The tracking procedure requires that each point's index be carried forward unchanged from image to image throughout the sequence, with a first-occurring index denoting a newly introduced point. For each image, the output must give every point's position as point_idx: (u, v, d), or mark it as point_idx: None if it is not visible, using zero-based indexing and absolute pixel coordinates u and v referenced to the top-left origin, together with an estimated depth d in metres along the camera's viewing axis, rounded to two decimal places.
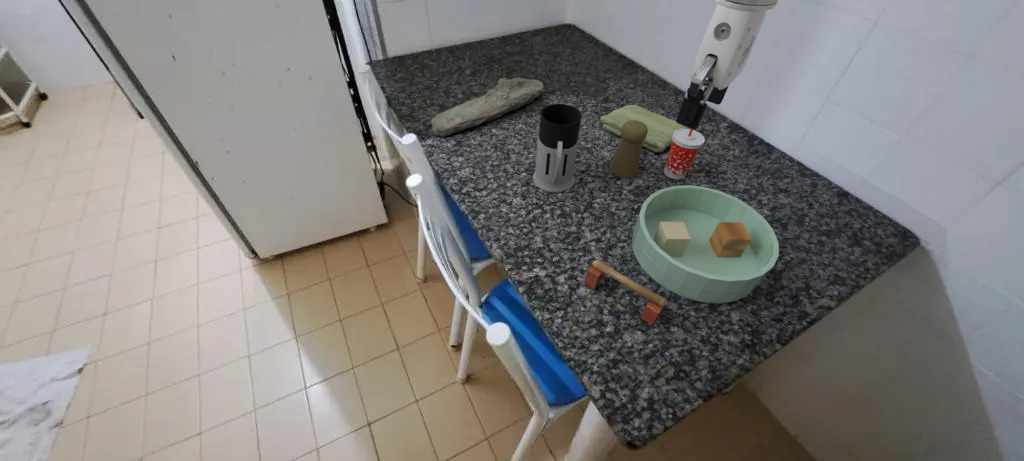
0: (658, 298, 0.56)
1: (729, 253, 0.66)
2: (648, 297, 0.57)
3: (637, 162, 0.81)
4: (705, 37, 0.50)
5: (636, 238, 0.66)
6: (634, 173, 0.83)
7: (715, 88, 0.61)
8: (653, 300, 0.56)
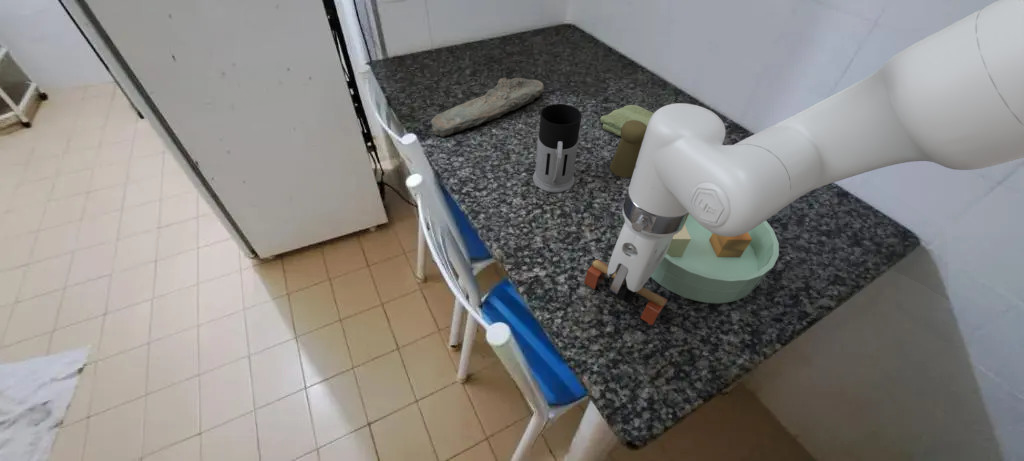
0: (658, 298, 0.56)
1: (729, 253, 0.66)
2: (648, 297, 0.57)
3: None
4: (615, 248, 0.49)
5: None
6: None
7: None
8: (653, 300, 0.56)
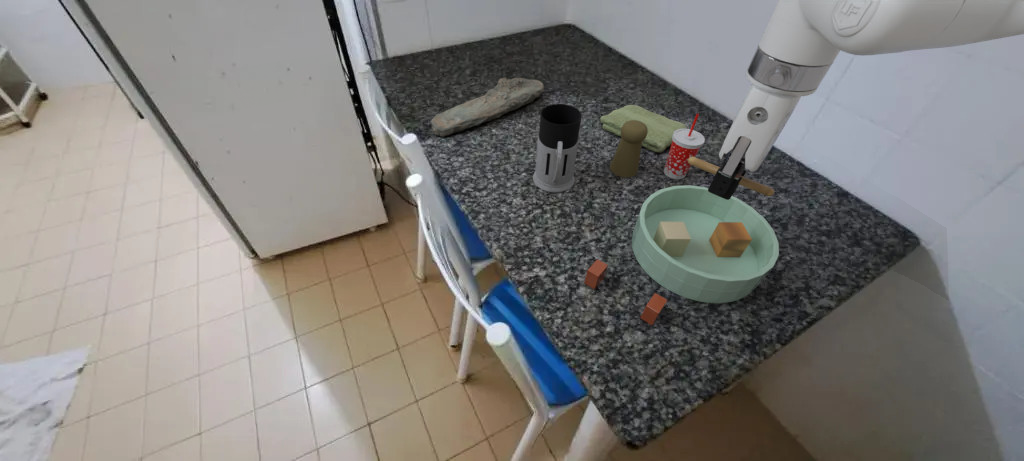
0: (767, 187, 0.53)
1: (729, 253, 0.66)
2: (755, 188, 0.53)
3: (637, 162, 0.81)
4: (737, 119, 0.46)
5: (636, 238, 0.66)
6: (634, 173, 0.83)
7: None
8: (761, 190, 0.53)
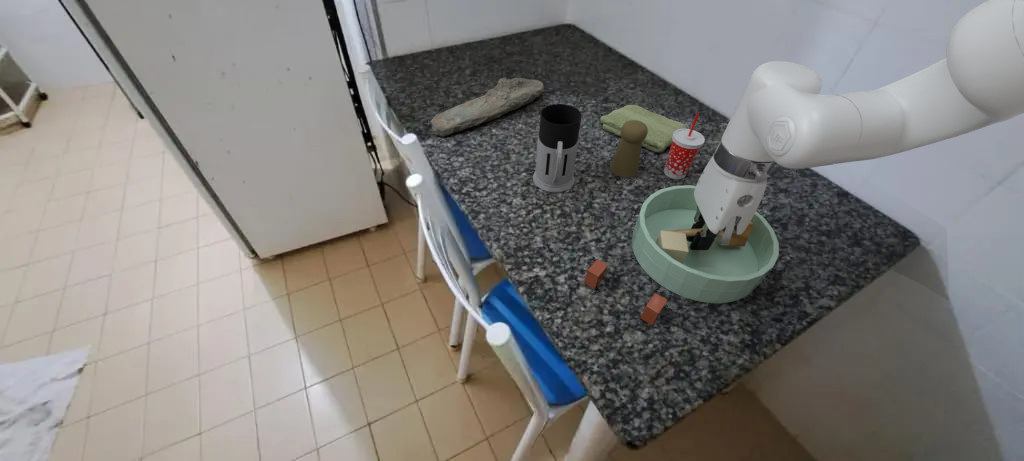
0: None
1: (733, 241, 0.66)
2: None
3: (637, 162, 0.81)
4: (728, 206, 0.55)
5: (636, 238, 0.66)
6: (634, 173, 0.83)
7: None
8: None
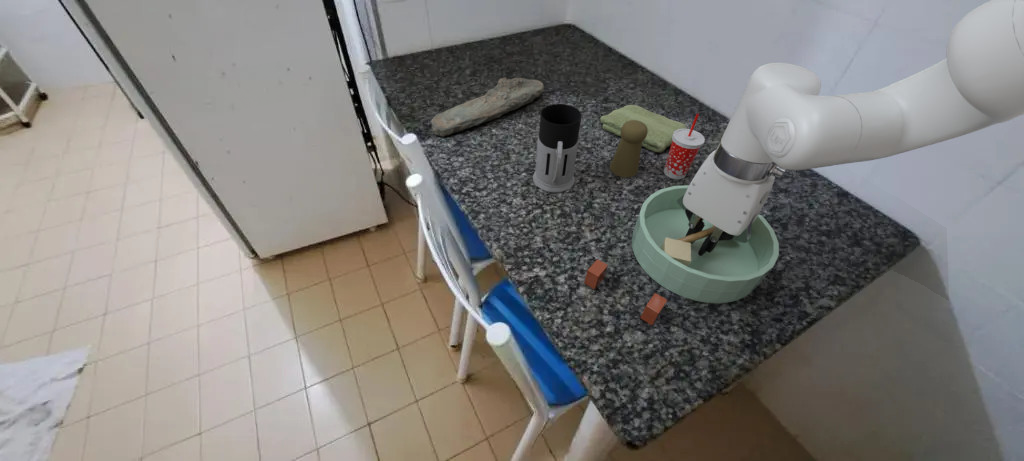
0: None
1: None
2: None
3: (637, 162, 0.81)
4: (753, 208, 0.54)
5: (636, 238, 0.66)
6: (634, 173, 0.83)
7: None
8: None
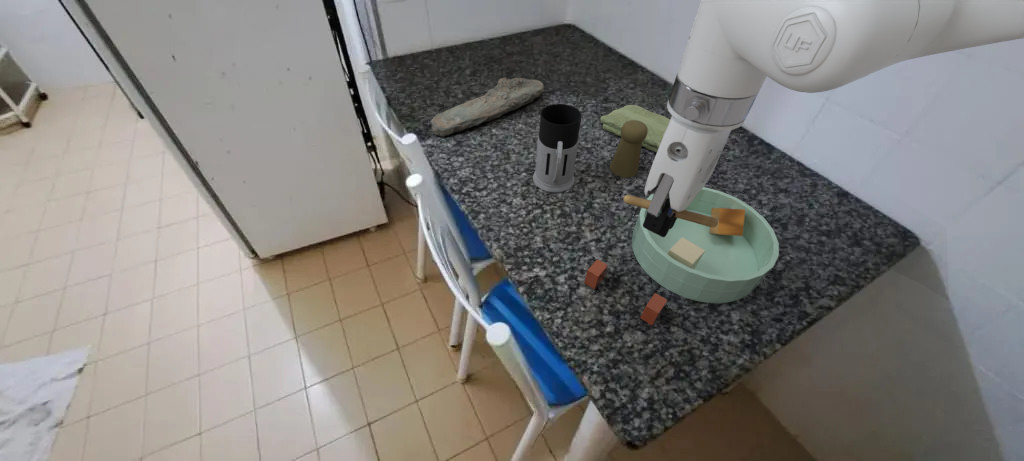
0: (706, 222, 0.46)
1: (729, 229, 0.66)
2: (696, 222, 0.47)
3: (637, 162, 0.81)
4: (658, 154, 0.41)
5: (636, 238, 0.66)
6: (634, 173, 0.83)
7: None
8: (702, 224, 0.47)
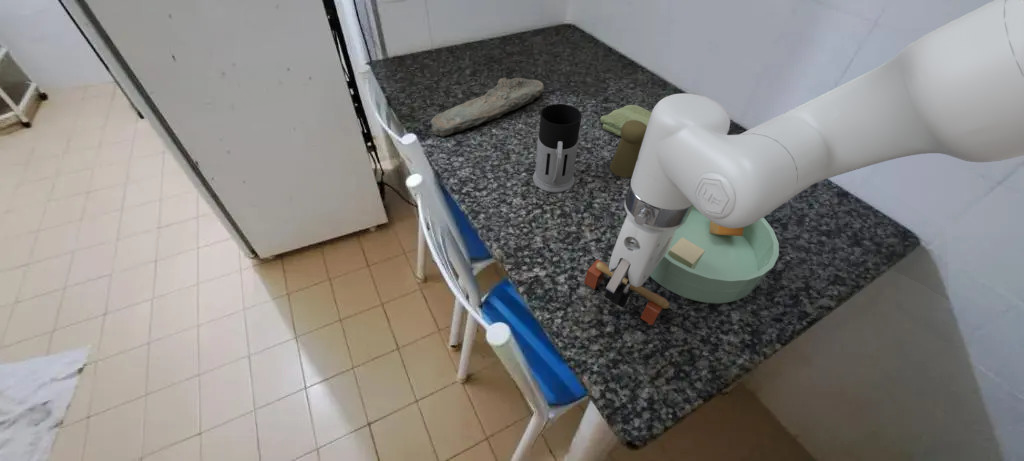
0: (660, 304, 0.56)
1: (729, 229, 0.66)
2: (652, 301, 0.57)
3: None
4: (617, 242, 0.49)
5: None
6: None
7: None
8: (657, 304, 0.56)
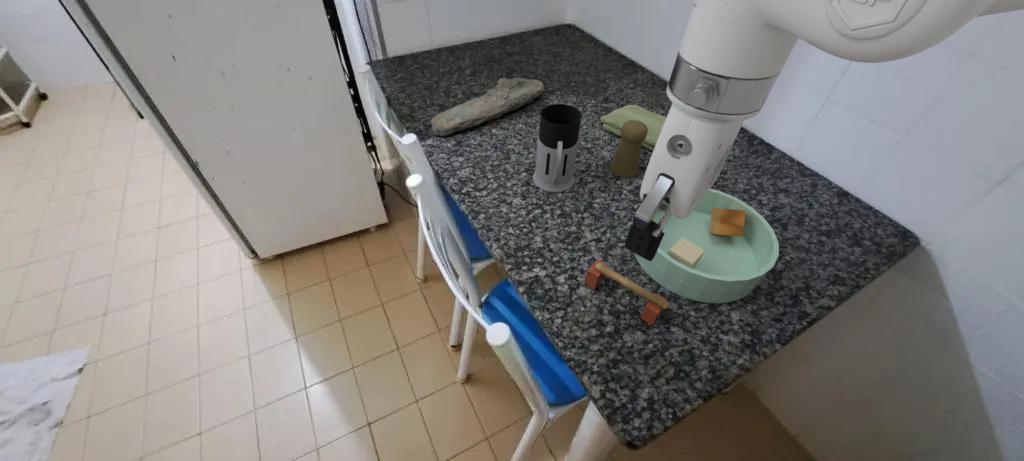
0: (659, 305, 0.56)
1: (729, 229, 0.66)
2: (651, 301, 0.57)
3: (637, 162, 0.81)
4: (656, 150, 0.33)
5: None
6: (634, 173, 0.83)
7: None
8: (656, 304, 0.57)
